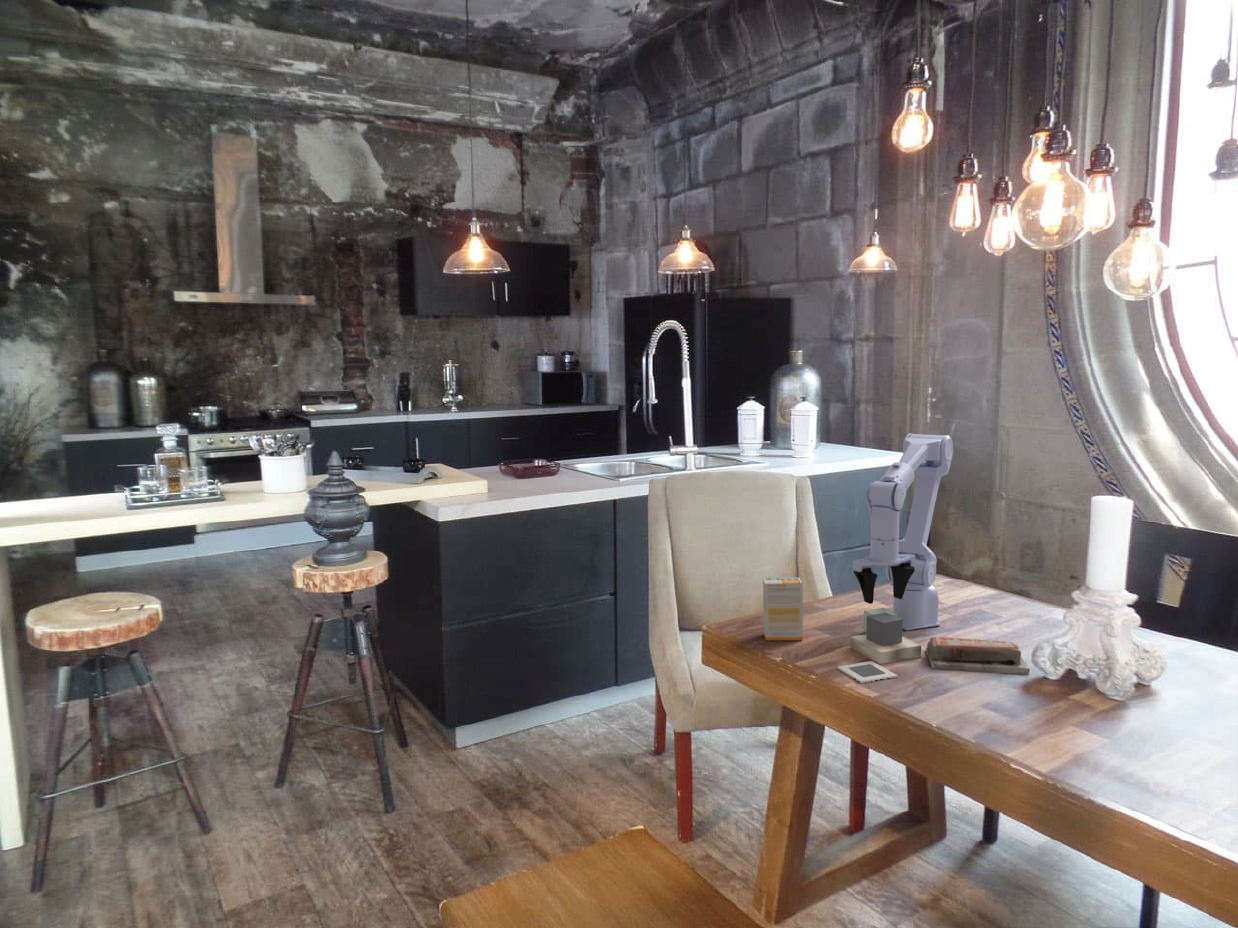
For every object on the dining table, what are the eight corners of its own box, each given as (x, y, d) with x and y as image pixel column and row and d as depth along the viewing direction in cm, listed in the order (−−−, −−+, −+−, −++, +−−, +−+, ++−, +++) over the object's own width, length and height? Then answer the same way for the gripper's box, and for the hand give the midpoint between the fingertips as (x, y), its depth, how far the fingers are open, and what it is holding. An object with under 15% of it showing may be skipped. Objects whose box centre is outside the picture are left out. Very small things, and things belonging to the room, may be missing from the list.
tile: (871, 662, 168) (872, 660, 168) (896, 677, 161) (897, 674, 161) (837, 668, 166) (837, 665, 166) (861, 683, 158) (861, 680, 158)
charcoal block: (884, 635, 177) (885, 612, 176) (902, 642, 172) (902, 619, 172) (866, 639, 175) (866, 616, 174) (883, 646, 170) (883, 622, 170)
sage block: (882, 629, 188) (883, 607, 188) (896, 636, 184) (897, 614, 183) (863, 631, 187) (864, 610, 186) (877, 639, 182) (877, 616, 181)
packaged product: (932, 647, 164) (925, 630, 174) (931, 671, 165) (925, 653, 174) (1031, 652, 160) (1019, 635, 170) (1030, 676, 161) (1018, 658, 170)
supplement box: (800, 633, 186) (800, 576, 184) (802, 641, 182) (803, 582, 180) (762, 633, 187) (762, 576, 185) (764, 640, 182) (764, 582, 181)
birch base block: (889, 643, 180) (890, 630, 180) (920, 659, 171) (921, 645, 171) (850, 650, 177) (850, 636, 177) (879, 666, 168) (880, 652, 167)
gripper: (900, 530, 183) (899, 591, 184) (844, 537, 178) (843, 599, 180) (922, 537, 176) (920, 599, 178) (864, 544, 171) (863, 608, 173)
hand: (883, 600), depth 178 cm, fingers open, 7 cm apart
